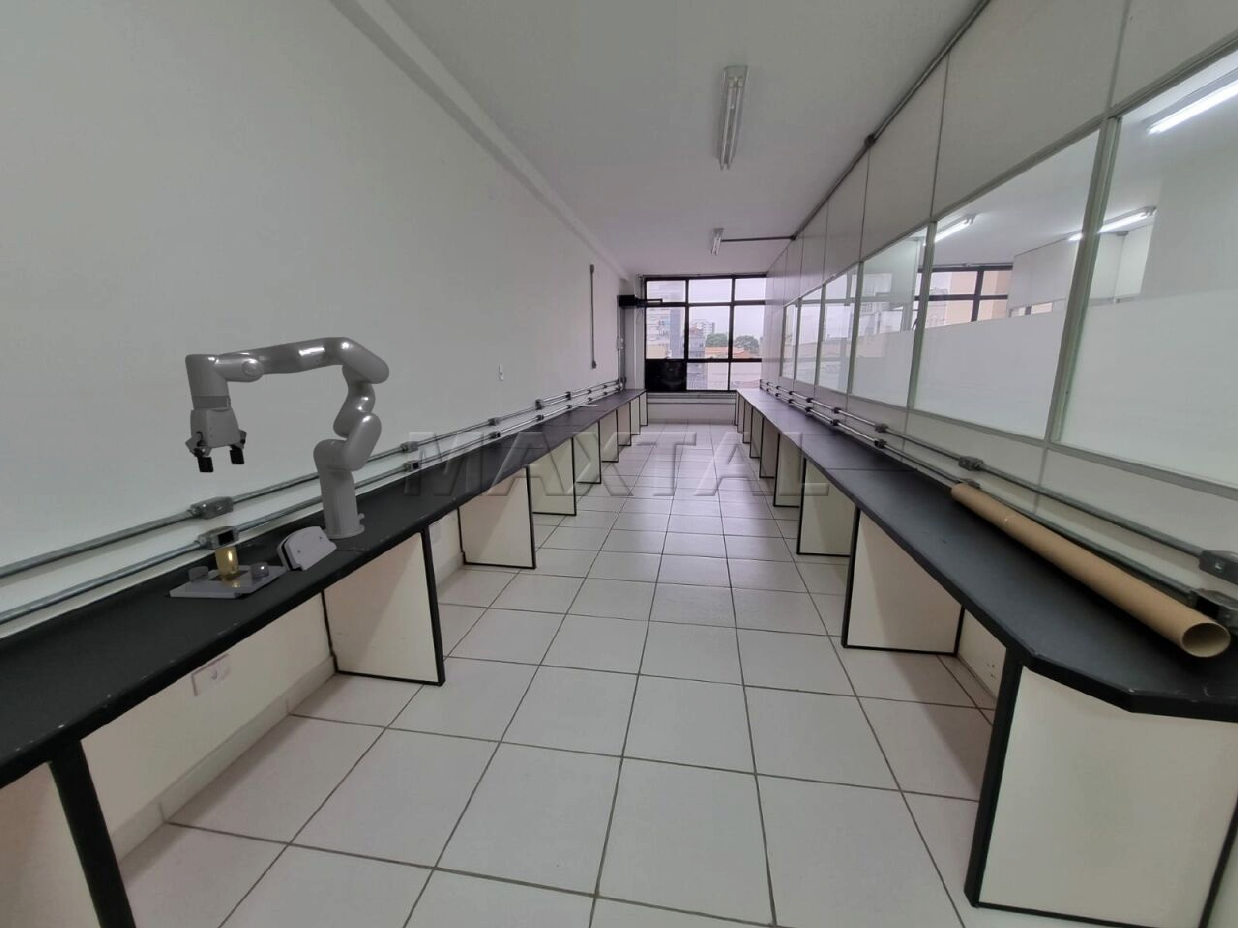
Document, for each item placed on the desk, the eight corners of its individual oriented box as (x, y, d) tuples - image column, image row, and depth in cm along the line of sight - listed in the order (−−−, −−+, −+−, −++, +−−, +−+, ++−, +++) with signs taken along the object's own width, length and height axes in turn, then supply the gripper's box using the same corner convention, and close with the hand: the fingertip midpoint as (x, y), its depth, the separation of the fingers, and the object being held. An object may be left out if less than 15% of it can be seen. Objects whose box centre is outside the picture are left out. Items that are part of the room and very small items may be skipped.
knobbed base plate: (213, 575, 127) (210, 554, 126) (286, 576, 126) (283, 555, 125) (170, 596, 115) (166, 573, 114) (251, 598, 115) (247, 575, 113)
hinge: (303, 571, 130) (286, 538, 128) (288, 576, 130) (270, 544, 128) (337, 547, 146) (322, 518, 144) (323, 552, 146) (308, 523, 144)
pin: (230, 582, 123) (224, 546, 121) (245, 582, 123) (239, 546, 121) (217, 589, 119) (210, 552, 117) (232, 590, 119) (226, 552, 117)
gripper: (226, 400, 131) (236, 461, 134) (165, 406, 114) (178, 475, 117) (252, 400, 131) (262, 461, 134) (195, 406, 114) (208, 476, 117)
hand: (223, 468), depth 126 cm, fingers open, 9 cm apart
